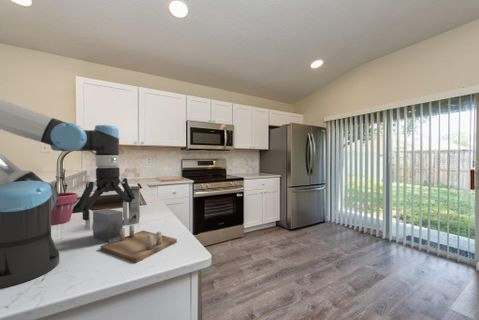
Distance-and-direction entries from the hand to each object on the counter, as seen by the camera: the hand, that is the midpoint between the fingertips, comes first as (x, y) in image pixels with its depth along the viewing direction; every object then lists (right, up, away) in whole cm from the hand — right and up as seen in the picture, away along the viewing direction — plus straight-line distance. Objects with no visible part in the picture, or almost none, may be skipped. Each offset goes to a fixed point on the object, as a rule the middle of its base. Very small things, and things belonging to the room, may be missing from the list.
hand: (108, 223), depth 77 cm
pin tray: (+15, -6, -7) cm, 18 cm away
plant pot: (-35, -5, +17) cm, 40 cm away
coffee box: (-2, -5, +20) cm, 20 cm away
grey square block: (0, -6, 0) cm, 6 cm away
